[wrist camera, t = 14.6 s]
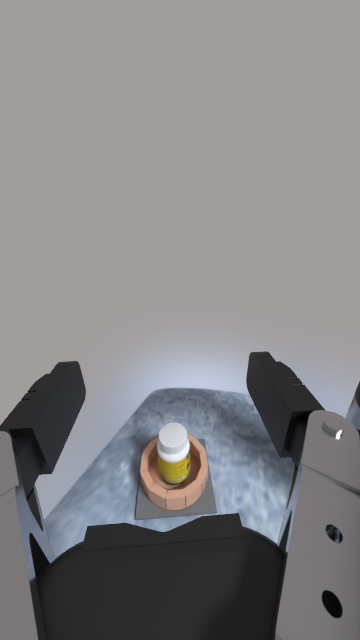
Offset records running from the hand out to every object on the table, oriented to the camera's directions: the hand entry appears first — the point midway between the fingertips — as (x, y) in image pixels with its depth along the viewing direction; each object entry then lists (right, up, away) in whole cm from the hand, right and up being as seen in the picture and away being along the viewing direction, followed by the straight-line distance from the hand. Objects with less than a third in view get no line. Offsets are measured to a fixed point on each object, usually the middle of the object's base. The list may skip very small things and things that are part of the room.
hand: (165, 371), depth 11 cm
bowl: (0, -22, +24) cm, 32 cm away
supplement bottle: (0, -21, +24) cm, 32 cm away
